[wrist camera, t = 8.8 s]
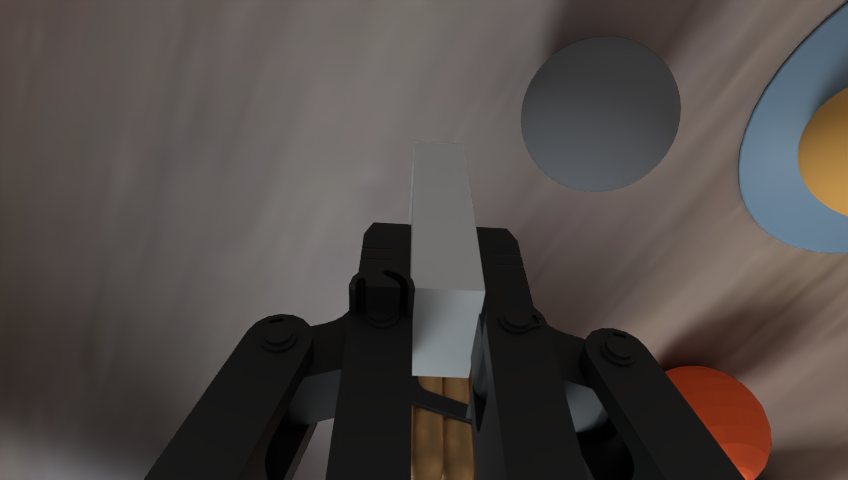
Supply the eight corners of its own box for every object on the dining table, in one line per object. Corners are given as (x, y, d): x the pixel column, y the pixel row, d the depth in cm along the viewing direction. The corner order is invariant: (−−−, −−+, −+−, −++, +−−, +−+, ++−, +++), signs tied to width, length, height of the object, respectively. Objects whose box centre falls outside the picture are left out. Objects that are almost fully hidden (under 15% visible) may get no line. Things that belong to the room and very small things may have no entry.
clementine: (632, 428, 36) (669, 536, 31) (585, 377, 33) (617, 489, 27) (751, 384, 33) (816, 497, 28) (713, 324, 30) (778, 438, 24)
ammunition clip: (379, 338, 31) (357, 562, 22) (394, 319, 30) (377, 545, 21) (528, 393, 34) (566, 609, 25) (545, 377, 33) (591, 597, 24)
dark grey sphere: (642, 237, 18) (666, 168, 22) (692, 78, 15) (709, 30, 19) (492, 196, 20) (539, 139, 24) (506, 49, 17) (557, 11, 21)
